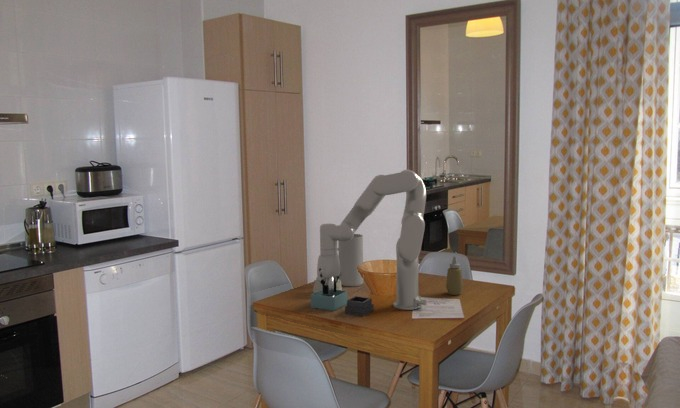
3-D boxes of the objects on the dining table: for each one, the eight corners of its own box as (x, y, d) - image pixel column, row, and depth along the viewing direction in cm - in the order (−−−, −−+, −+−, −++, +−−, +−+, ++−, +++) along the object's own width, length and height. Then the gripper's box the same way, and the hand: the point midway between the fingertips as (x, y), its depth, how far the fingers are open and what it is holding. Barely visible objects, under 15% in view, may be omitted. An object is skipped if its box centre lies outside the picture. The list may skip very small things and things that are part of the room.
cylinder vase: (356, 279, 296) (355, 233, 293) (367, 285, 285) (367, 236, 282) (334, 282, 291) (334, 235, 288) (345, 288, 279) (344, 238, 277)
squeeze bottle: (444, 295, 264) (444, 257, 262) (447, 290, 271) (447, 254, 269) (461, 296, 261) (461, 258, 259) (464, 292, 268) (464, 255, 266)
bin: (347, 304, 251) (347, 291, 251) (334, 311, 241) (334, 297, 240) (324, 300, 257) (324, 288, 256) (310, 307, 247) (310, 294, 246)
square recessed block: (373, 310, 241) (373, 298, 241) (364, 316, 233) (364, 303, 233) (355, 307, 245) (354, 295, 245) (345, 313, 238) (345, 300, 237)
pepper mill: (330, 298, 252) (330, 269, 251) (337, 300, 248) (336, 271, 247) (322, 300, 249) (321, 271, 248) (328, 302, 245) (328, 273, 244)
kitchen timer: (347, 292, 271) (346, 262, 270) (332, 299, 260) (332, 267, 258) (323, 289, 278) (322, 259, 277) (307, 295, 267) (307, 264, 265)
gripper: (337, 248, 255) (338, 287, 257) (308, 253, 244) (309, 294, 246) (348, 250, 249) (349, 290, 251) (319, 255, 238) (320, 297, 240)
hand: (329, 292), depth 248 cm, fingers closed on pepper mill, 3 cm apart
